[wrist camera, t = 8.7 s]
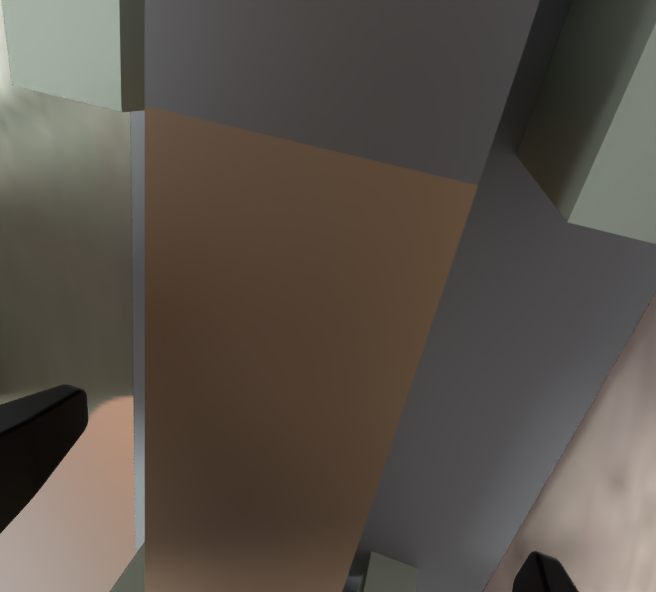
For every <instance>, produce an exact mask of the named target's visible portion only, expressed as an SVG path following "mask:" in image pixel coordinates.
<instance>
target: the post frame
mask: <svg viewBox="0 0 656 592" xmlns="http://www.w3.org/2000/svg"><path fill="white" fill-rule="evenodd" d="M2 8H3V17H4V25H5V33H6V42H7V50H8V59H9V67H10V75H11V84H12V85H14V86H18V87H22V88H26V89H30V90H34V91H38V92H42V93H46V94H50V95H54V96H58V97H62V98H66V99H70V100H74V101H79V102H83V103H87V104H91V105H95V106H99V107H103V108H107V109H111V110H115V111H119V112H129V111H130V118H131V209H132V301H133V392H134V476H135V477H134V482H135V549H138V552H137V553H136V555H135V556H134V557H133V559H132V560H131V562H130V563H129V565H128V566H127V568H126V569H125V570H124V572H123V573H122V575H121V576H120V578H119V579H118V580H117V582H116V583H115V585H114V586H113V587H112V589H111V590H110V592H145V0H2ZM655 293H656V0H540V2H539V5H538V8H537V11H536V14H535V17H534V20H533V23H532V26H531V29H530V32H529V35H528V38H527V41H526V44H525V47H524V50H523V53H522V56H521V59H520V62H519V65H518V68H517V71H516V74H515V77H514V80H513V83H512V86H511V89H510V92H509V95H508V98H507V101H506V104H505V107H504V110H503V113H502V116H501V119H500V122H499V125H498V128H497V131H496V134H495V137H494V140H493V143H492V146H491V149H490V152H489V155H488V158H487V161H486V164H485V167H484V170H483V173H482V176H481V179H480V182H479V185H478V188H477V191H476V194H475V197H474V200H473V203H472V206H471V209H470V212H469V215H468V218H467V221H466V224H465V227H464V230H463V233H462V236H461V238H460V241H459V244H458V247H457V250H456V253H455V256H454V259H453V262H452V265H451V268H450V271H449V274H448V277H447V280H446V283H445V286H444V289H443V292H442V295H441V298H440V301H439V304H438V307H437V310H436V313H435V316H434V319H433V322H432V325H431V328H430V331H429V334H428V337H427V340H426V343H425V346H424V349H423V352H422V355H421V358H420V361H419V364H418V367H417V370H416V373H415V376H414V379H413V382H412V385H411V388H410V391H409V394H408V397H407V400H406V403H405V406H404V409H403V412H402V415H401V418H400V421H399V424H398V427H397V430H396V433H395V436H394V439H393V442H392V445H391V448H390V451H389V454H388V457H387V460H386V463H385V466H384V469H383V472H382V475H381V478H380V481H379V484H378V487H377V490H376V493H375V496H374V499H373V502H372V505H371V508H370V511H369V514H368V517H367V519H366V522H365V525H364V528H363V531H362V534H361V537H360V540H359V543H358V546H357V549H356V552H355V555H354V558H353V561H352V564H351V567H350V570H349V573H348V576H347V579H346V582H345V585H344V588H343V591H342V592H483V590H484V588H485V587H486V585H487V583H488V581H489V580H490V578H491V576H492V575H493V573H494V571H495V569H496V568H497V566H498V564H499V562H500V561H501V559H502V557H503V556H504V554H505V552H506V550H507V549H508V547H509V545H510V543H511V542H512V540H513V538H514V536H515V535H516V533H517V531H518V530H519V528H520V526H521V524H522V523H523V521H524V519H525V517H526V516H527V514H528V512H529V511H530V509H531V507H532V505H533V504H534V502H535V500H536V498H537V497H538V495H539V493H540V492H541V490H542V488H543V486H544V485H545V483H546V481H547V479H548V478H549V476H550V474H551V473H552V471H553V469H554V467H555V466H556V464H557V462H558V460H559V459H560V457H561V455H562V453H563V452H564V450H565V448H566V447H567V445H568V443H569V441H570V440H571V438H572V436H573V434H574V433H575V431H576V429H577V428H578V426H579V424H580V422H581V421H582V419H583V417H584V415H585V414H586V412H587V410H588V409H589V407H590V405H591V403H592V402H593V400H594V398H595V396H596V395H597V393H598V391H599V390H600V388H601V386H602V384H603V383H604V381H605V379H606V377H607V376H608V374H609V372H610V370H611V369H612V367H613V365H614V364H615V362H616V360H617V358H618V357H619V355H620V353H621V351H622V350H623V348H624V346H625V345H626V343H627V341H628V339H629V338H630V336H631V334H632V332H633V331H634V329H635V327H636V326H637V324H638V322H639V320H640V319H641V317H642V315H643V313H644V312H645V310H646V308H647V307H648V305H649V303H650V301H651V300H652V298H653V296H654V294H655Z"/></svg>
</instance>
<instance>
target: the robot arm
mask: <svg viewBox="0 0 656 592" xmlns="http://www.w3.org/2000/svg"><path fill="white" fill-rule="evenodd" d="M87 424H88V407H87V395H86V392H85V391H84V390H83V389H80V388H78V387H75V386H72V385H68V384H65V385H60V386H57V387H54V388H51V389H48V390H45V391H42V392H39V393H35V394H32V395H29V396H26V397H23V398H20V399H17V400H14V401H11V402H8V403H4V404H1V405H0V533H1V532H2V531H3V530H4V529H5V528H6V527H7V526H8V525H9V523H10V522H11V521H12V520H13V519H14V518H15V517H16V516H17V515H18V514H19V513H20V511H21V510H22V509H23V508H24V507H25V506H26V505H27V504H28V503H29V502H30V500H31V499H32V498H33V497H34V496H35V494H36V493H37V492H38V491H39V489H40V488H41V487H42V486H43V485H44V483H45V482H46V481H47V479H48V478H49V477H50V475H51V474H52V472H53V471H54V470H55V469H56V468H57V466H58V465H59V463H60V462H61V461H62V460H63V458H64V457H65V456H66V454H67V453H68V452H69V450H70V449H71V448H72V446H73V445H74V444H75V443H76V441H77V440H78V439H79V437H80V436H81V435H82V433H83V432H84V430H85V428H86V426H87ZM512 592H579V591H578V590H577V588H576V586H575V585H574V583H573V582H572V580H571V578H570V577H569V575H568V574H567V572H566V570H565V569H564V567H563V566H562V564H561V563H560V562H559V561H558V560H557V559H556V558H554V557H551V556H549V555H546V554H543V553H540V552H537V551H534V552H532V553H531V554H530V555H529V556H528V558H527V559H526V561H525V563H524V564H523V566H522V567H521V569H520V571H519V572H518V574H517V576H516V578H515V580H514V583H513V589H512Z"/></svg>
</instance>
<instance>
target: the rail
mask: <svg viewBox="0 0 656 592" xmlns="http://www.w3.org/2000/svg"><path fill="white" fill-rule="evenodd" d="M539 2H540V0H145V592H342V591H343V588H344V585H345V582H346V579H347V576H348V573H349V570H350V567H351V564H352V561H353V558H354V555H355V552H356V549H357V546H358V543H359V540H360V537H361V534H362V531H363V528H364V525H365V522H366V519H367V517H368V514H369V511H370V508H371V505H372V502H373V499H374V496H375V493H376V490H377V487H378V484H379V481H380V478H381V475H382V472H383V469H384V466H385V463H386V460H387V457H388V454H389V451H390V448H391V445H392V442H393V439H394V436H395V433H396V430H397V427H398V424H399V421H400V418H401V415H402V412H403V409H404V406H405V403H406V400H407V397H408V394H409V391H410V388H411V385H412V382H413V379H414V376H415V373H416V370H417V367H418V364H419V361H420V358H421V355H422V352H423V349H424V346H425V343H426V340H427V337H428V334H429V331H430V328H431V325H432V322H433V319H434V316H435V313H436V310H437V307H438V304H439V301H440V298H441V295H442V292H443V289H444V286H445V283H446V280H447V277H448V274H449V271H450V268H451V265H452V262H453V259H454V256H455V253H456V250H457V247H458V244H459V241H460V238H461V236H462V233H463V230H464V227H465V224H466V221H467V218H468V215H469V212H470V209H471V206H472V203H473V200H474V197H475V194H476V191H477V188H478V185H479V182H480V179H481V176H482V173H483V170H484V167H485V164H486V161H487V158H488V155H489V152H490V149H491V146H492V143H493V140H494V137H495V134H496V131H497V128H498V125H499V122H500V119H501V116H502V113H503V110H504V107H505V104H506V101H507V98H508V95H509V92H510V89H511V86H512V83H513V80H514V77H515V74H516V71H517V68H518V65H519V62H520V59H521V56H522V53H523V50H524V47H525V44H526V41H527V38H528V35H529V32H530V29H531V26H532V23H533V20H534V17H535V14H536V11H537V8H538V5H539Z"/></svg>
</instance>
